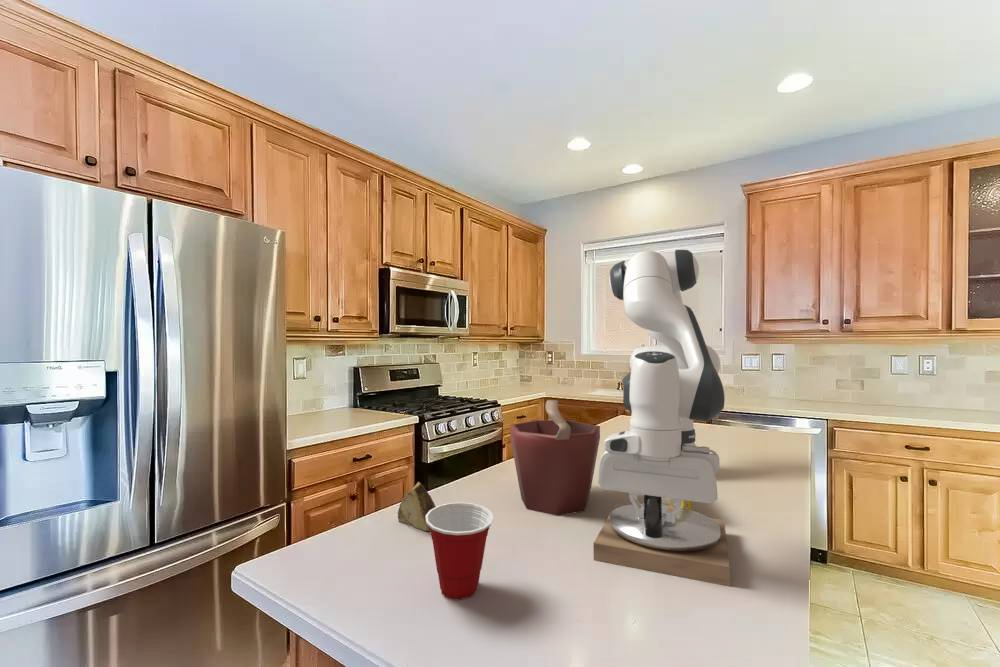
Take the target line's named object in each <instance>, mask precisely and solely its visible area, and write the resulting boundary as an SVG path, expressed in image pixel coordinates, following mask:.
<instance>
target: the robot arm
mask: <svg viewBox="0 0 1000 667" xmlns="http://www.w3.org/2000/svg"><path fill="white" fill-rule="evenodd" d="M699 275H700V268H699V263H698V261H697V258H696V257H695V255H694V254H693V252H692V251H690V250H688V249H675V250H674V251H673V250H672V251H661V252H658V251H655V250H642V251H640V252H637V253H636V254H634V255H633V256H632V257H631V258H630V259H629V260H626V261H625V260H622V261H620V262H617V263H615V264H613V266H612V267H611V269H610V270H609V277H608V282H609V283H608V284H609V287H610V290H611V292H612V295H613V296H614V297H615V298H616V299H618V300H620V301H623V306H624V311H625V314H626V316H627V317H628V319H630V321H631V322H632V323H634V324H635V325H636V326H638V327H640V328H642V329H643V330H645V331H646V333H647V334H648V336H650V337H651V338H652V339H653V340H654V341H655V340H656V341H657V342H659V343H661V344H650V345H644V346H640V347H636V348H635V349H634V350H633V351H632V353H631V354H630V358H629V368H630V372H628V373H627V374H626V375H625V376H624V377H623V378H622V379H621V381H622V388H623V389H622V390H623V398H622V400H623V401H622V406H623V407H624V408H625V409H626V410H628V411H629V412H630V413H631V414H630V416H631V417H630V420H629V430H624V431H619V432H615V433H611V434H610V435H608V436H607V437H606V438H605V439H604V442H603V448H604V450H605V451H603V453H602V454H601V456H600V457H599V462H598V470H597V484H598V486H599V487H600V489H602V490H605V491H612V492H613V491H614V492H619V493H621V492H622V493H628V495H629V498H628V499H629V500H630V502H631V504H633V506H634V508H635V509H636V518H640V519H644V507H643V506H641V505H640V504H641V503H640V502H639V500H638V499H639V496H640V495H643V496H644V495H649V496H657V497H662V498H666V499H670V498H672V499H673V504H674V505H675V506H674V508H673V509H672V511H671V510H667V512H666V523H671V524H675V522H676V513H677V512H678V510H679V509H680V507H681V506H682V500H687V501H691V502H695V503H703V504H710V505H711V504H714V503H715V502H716V501H717V500H718V497H719V496H718V484H717V476H716V474H717V473H718V472H719V470H720V457H719V455H718V453H717V452H716V451H714V450H713V449H711V448H710V447H708V446H698V445H697V444H696V443H695V442H696V436H697V435H696V430H695V428H694V421H699V422H700V421H701V422H705V423H706V422H709V421H710V420H712V419H714V418H715V417H717V416H718V415H719V414H720V413H721V412H722V411H723V410H724V409H725V400H726V393H725V389H724V386H723V383H722V381H721V380H722V379H721V378H720V375H719V371H720V368H721V360H720V357H719V355H718V353H717V351H716V350H715V349H714V348H712V347H710V346H709V345H707V343H706V341H705V339H704V336H703V333H702V330H701V327H700V325H699V322H698V320H697V318H696V315H695V314H694V311H693V310H692V308H691V307H690V306H688V305H686V304H684V303H683V299H682V294H681V292H685V291H688V290H690V289H692V288H693V287H694V286H695V285H696V284H697V281H698V278H699ZM673 504H672V505H673Z"/></svg>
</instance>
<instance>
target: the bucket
mask: <svg viewBox="0 0 1000 667" xmlns="http://www.w3.org/2000/svg"><path fill="white" fill-rule="evenodd" d="M545 411H546V413H547V415H548V419H546V420H545V419H533V420H528V421H523V422H516V423H512V424H511V423H510V424H509V438H510V444H511V448H512V455H513V459H514V464H515V465H514V466H515V470H516V476H517V481H518V488H519V492H520V497H521V499H520V500H522V502H523V505H524V507H525V509H526V510H527V511H529V510H530V511H534V512H538V513H543V514H546V515H547V514H548V515H551V516H561V514H562V515H567V513H569V514H575V513H574V512H576V513H581V512H580V511H583V512H585V510H586V509H585V508H587V506H588V504H589V502H588V501H590V496H591V490H592V486H593V485H592V484H593V480H594V474H595V473H594V472H595V470H596V469H595V467H596V461H597V456H598V452H599V446H600V440H601V426H600V425H595V424H590V423H587V422H581V421H576V420H565V418H563V416H562V413H561V412H560V409H559V401H558V400H557V399H555V400H550V399H548V400H546V402H545ZM587 503H588V504H587Z"/></svg>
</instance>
